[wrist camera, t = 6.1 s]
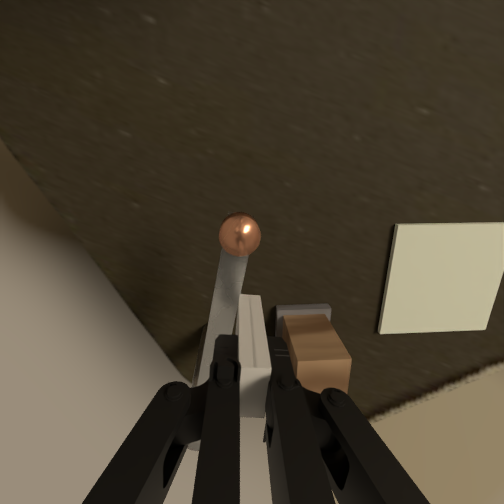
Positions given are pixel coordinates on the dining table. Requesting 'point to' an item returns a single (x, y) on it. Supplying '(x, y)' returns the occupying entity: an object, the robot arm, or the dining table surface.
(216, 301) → the grey l-shaped handle
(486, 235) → the sage mat
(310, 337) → the brown boxy piece
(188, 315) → the dining table surface
